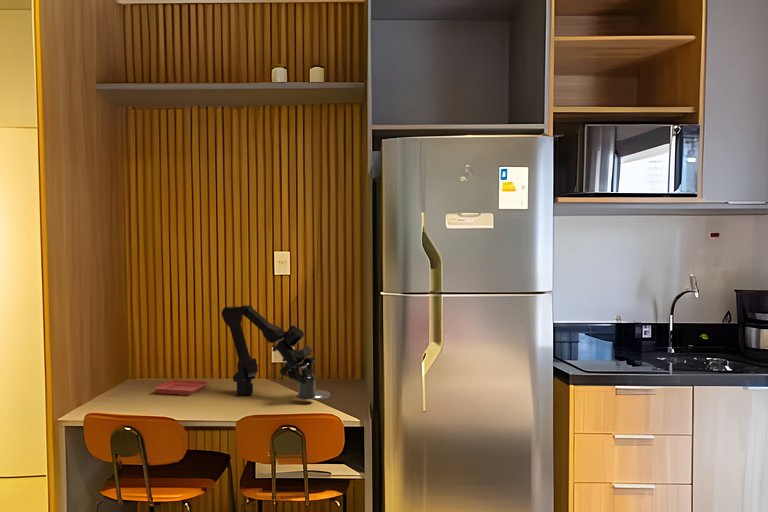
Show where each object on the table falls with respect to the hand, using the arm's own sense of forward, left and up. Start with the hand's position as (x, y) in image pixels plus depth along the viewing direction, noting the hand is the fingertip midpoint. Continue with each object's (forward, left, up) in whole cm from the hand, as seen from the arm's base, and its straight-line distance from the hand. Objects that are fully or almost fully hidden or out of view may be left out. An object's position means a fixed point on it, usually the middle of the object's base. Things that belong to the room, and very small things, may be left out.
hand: (309, 382), depth 269 cm
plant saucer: (-56, +30, -10) cm, 64 cm away
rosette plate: (+2, +14, -9) cm, 17 cm away
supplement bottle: (-1, +1, -7) cm, 7 cm away
